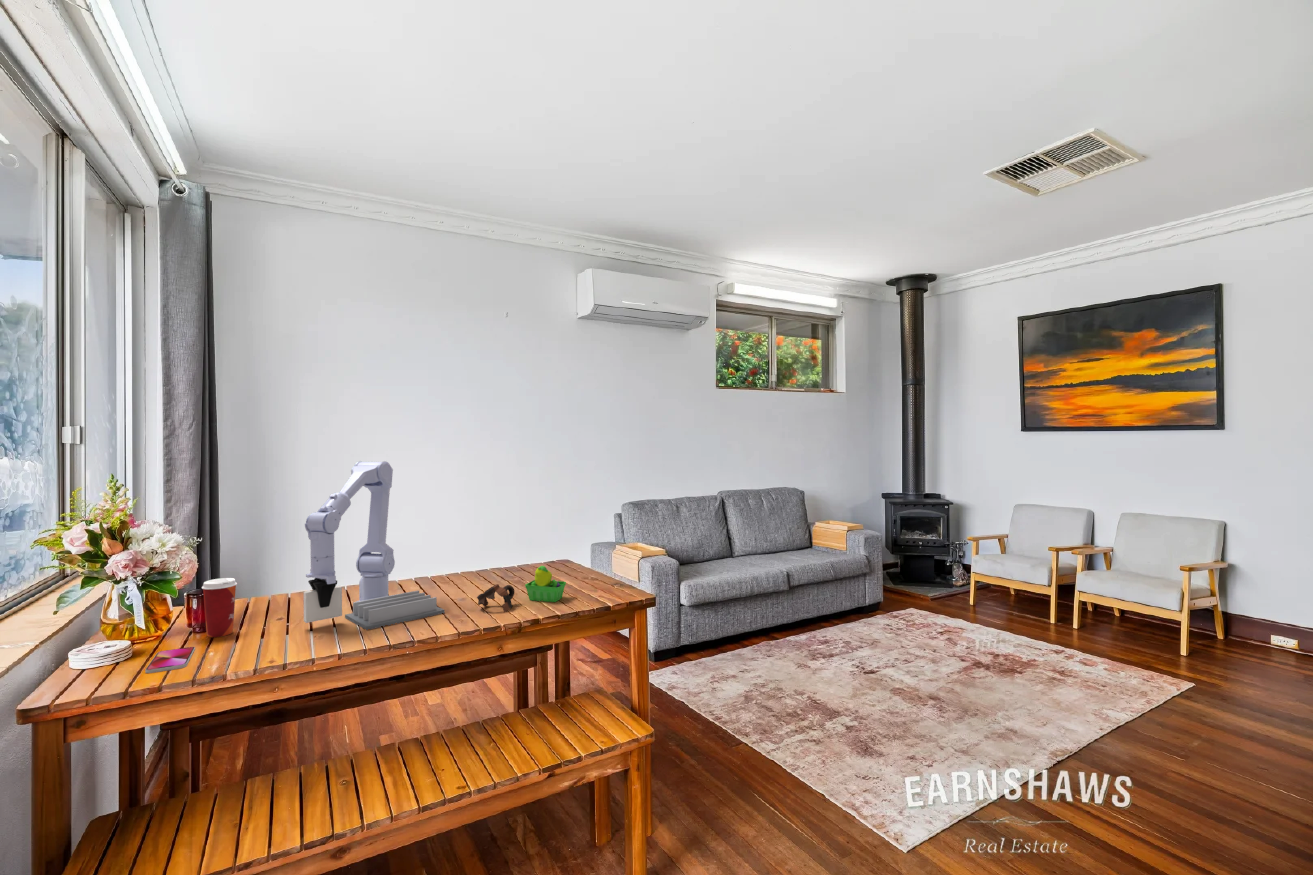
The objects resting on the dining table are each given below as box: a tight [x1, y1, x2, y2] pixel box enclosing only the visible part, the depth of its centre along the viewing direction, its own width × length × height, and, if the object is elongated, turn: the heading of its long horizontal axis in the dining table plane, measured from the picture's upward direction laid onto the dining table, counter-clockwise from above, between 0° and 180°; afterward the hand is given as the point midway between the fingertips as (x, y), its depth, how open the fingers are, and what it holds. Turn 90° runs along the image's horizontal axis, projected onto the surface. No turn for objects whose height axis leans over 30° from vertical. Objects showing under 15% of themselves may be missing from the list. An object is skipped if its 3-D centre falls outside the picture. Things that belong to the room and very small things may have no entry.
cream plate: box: [303, 585, 343, 624], centre depth 169 cm, size 2×9×8 cm, turn 135°
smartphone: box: [144, 646, 196, 674], centre depth 144 cm, size 7×1×15 cm
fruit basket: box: [524, 565, 567, 603], centre depth 195 cm, size 11×9×11 cm
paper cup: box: [201, 577, 238, 638], centre depth 163 cm, size 8×8×14 cm
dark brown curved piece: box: [476, 583, 515, 613], centre depth 186 cm, size 12×10×8 cm
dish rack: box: [344, 590, 446, 631], centre depth 179 cm, size 16×22×4 cm
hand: (323, 605), depth 169 cm, fingers closed on cream plate, 2 cm apart
